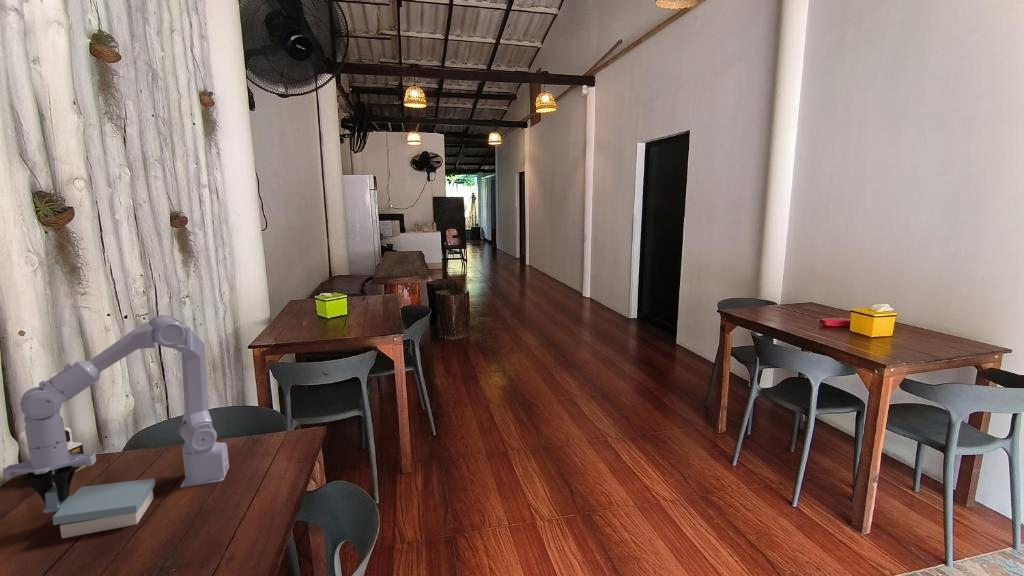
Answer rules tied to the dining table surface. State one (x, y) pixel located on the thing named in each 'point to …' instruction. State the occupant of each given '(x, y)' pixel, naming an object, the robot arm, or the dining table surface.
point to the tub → (104, 522)
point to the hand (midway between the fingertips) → (57, 500)
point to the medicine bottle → (72, 447)
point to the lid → (99, 501)
